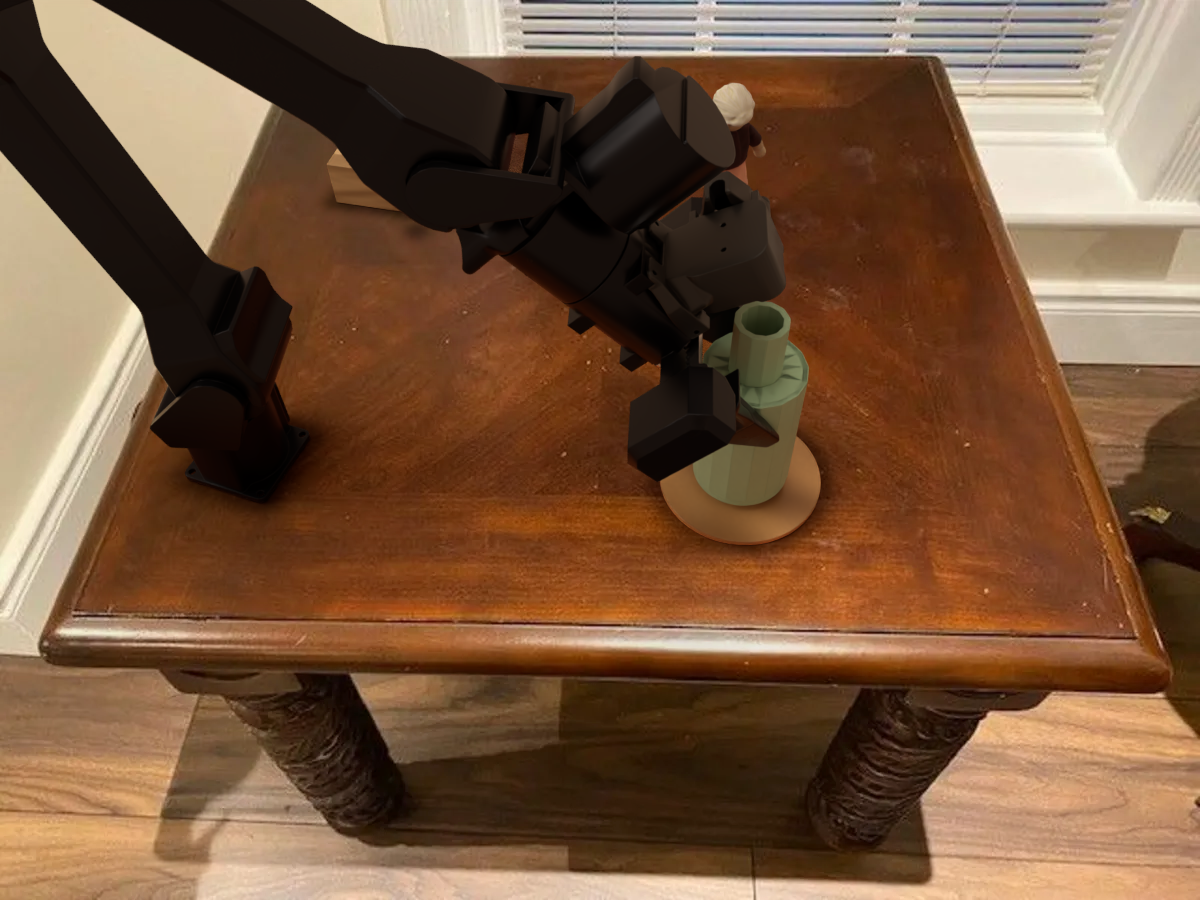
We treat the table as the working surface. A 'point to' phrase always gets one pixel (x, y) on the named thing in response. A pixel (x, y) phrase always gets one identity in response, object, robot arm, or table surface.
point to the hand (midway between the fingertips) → (771, 400)
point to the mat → (750, 520)
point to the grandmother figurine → (739, 125)
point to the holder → (352, 185)
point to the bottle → (757, 404)
